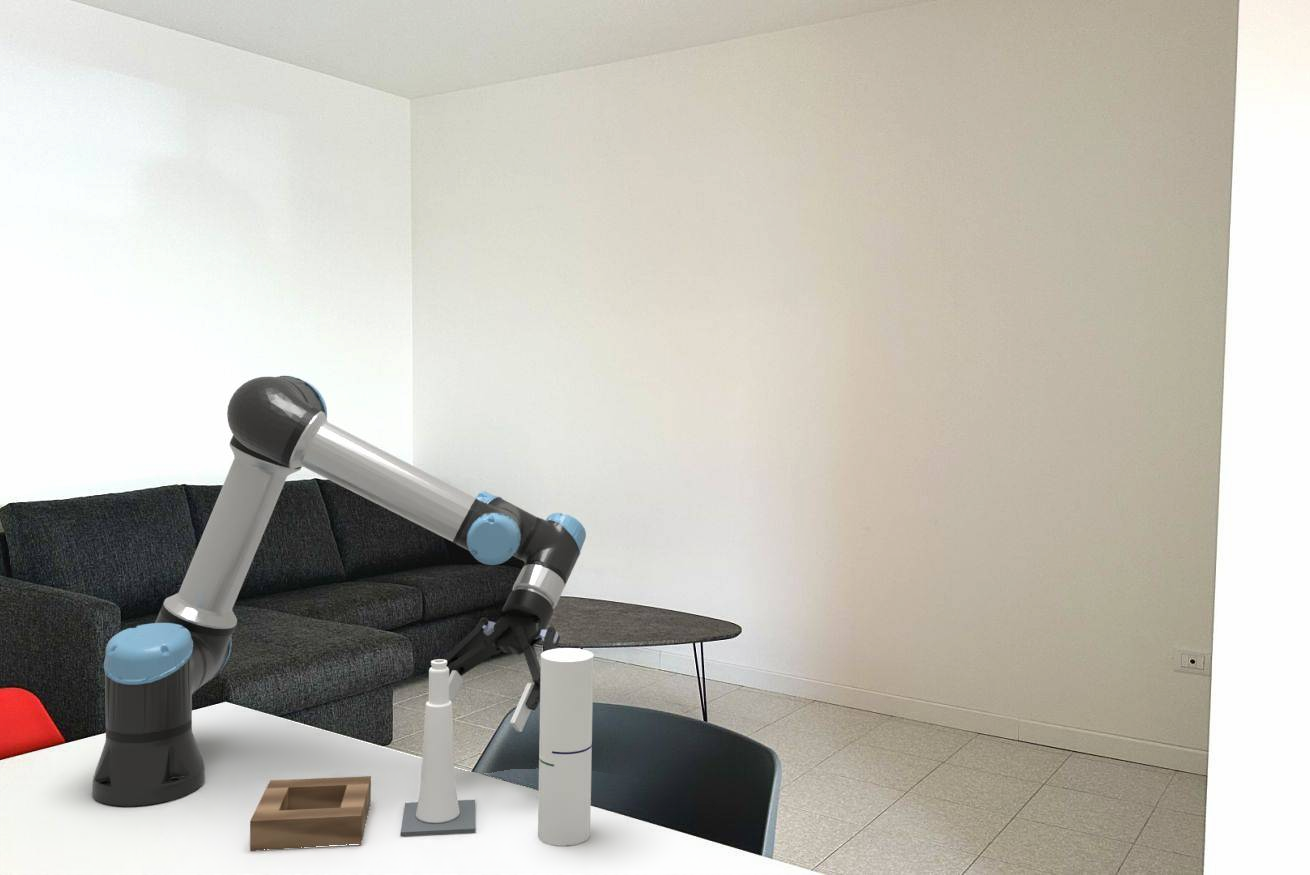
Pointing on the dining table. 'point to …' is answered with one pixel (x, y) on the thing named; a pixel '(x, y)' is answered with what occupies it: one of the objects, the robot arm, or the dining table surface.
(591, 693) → the cylindrical container
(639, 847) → the dining table surface
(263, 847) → the collar
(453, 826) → the mat
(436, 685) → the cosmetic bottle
